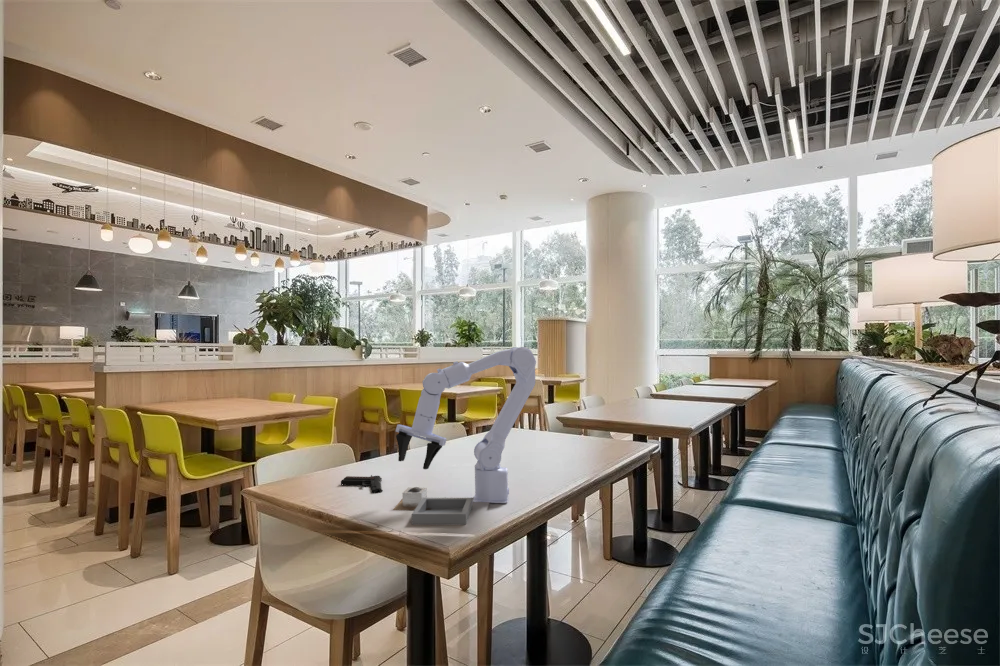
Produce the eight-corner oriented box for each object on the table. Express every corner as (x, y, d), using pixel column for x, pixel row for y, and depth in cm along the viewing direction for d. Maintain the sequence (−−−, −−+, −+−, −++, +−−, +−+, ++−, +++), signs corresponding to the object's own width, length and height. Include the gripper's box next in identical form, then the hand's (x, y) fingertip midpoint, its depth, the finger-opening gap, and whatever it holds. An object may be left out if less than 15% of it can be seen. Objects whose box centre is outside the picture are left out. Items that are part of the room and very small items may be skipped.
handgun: (338, 491, 142) (382, 487, 145) (341, 476, 159) (381, 473, 163) (338, 499, 142) (383, 495, 145) (341, 483, 159) (381, 480, 163)
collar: (426, 501, 136) (426, 487, 136) (421, 507, 131) (421, 493, 131) (408, 500, 137) (408, 487, 137) (402, 506, 131) (402, 492, 131)
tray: (472, 509, 130) (472, 497, 130) (465, 526, 117) (465, 514, 117) (423, 509, 131) (423, 497, 131) (411, 526, 118) (411, 514, 118)
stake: (437, 500, 138) (437, 483, 138) (430, 512, 128) (430, 493, 128) (402, 500, 139) (402, 483, 139) (392, 512, 129) (392, 493, 129)
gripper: (395, 409, 134) (383, 458, 133) (443, 422, 130) (430, 474, 129) (407, 409, 141) (395, 456, 140) (453, 422, 136) (441, 471, 135)
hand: (413, 464), depth 135 cm, fingers open, 7 cm apart
